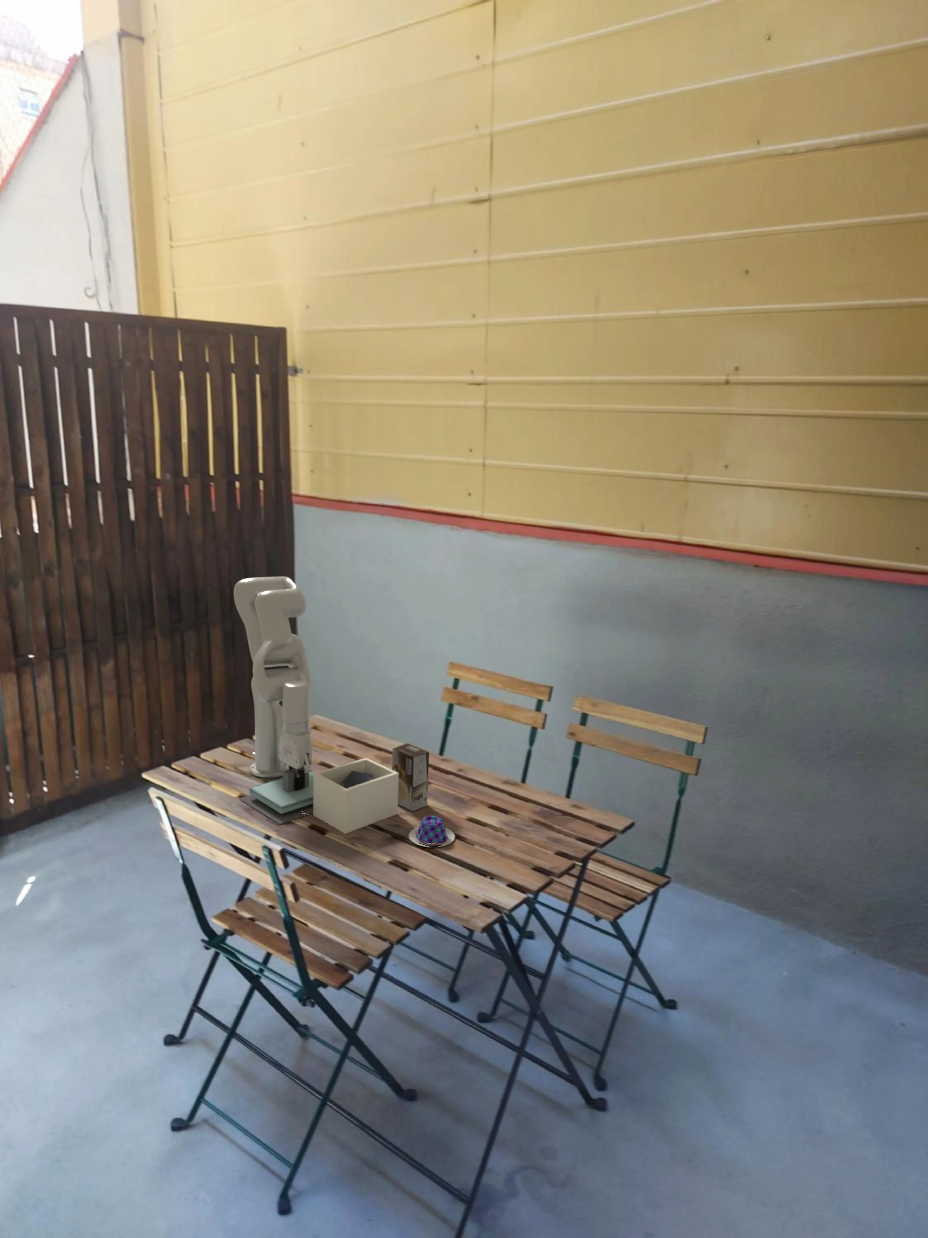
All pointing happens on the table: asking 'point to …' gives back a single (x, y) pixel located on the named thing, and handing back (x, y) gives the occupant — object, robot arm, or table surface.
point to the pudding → (432, 831)
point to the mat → (275, 814)
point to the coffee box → (411, 775)
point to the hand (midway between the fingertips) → (296, 786)
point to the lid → (285, 792)
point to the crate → (355, 796)
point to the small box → (356, 779)
